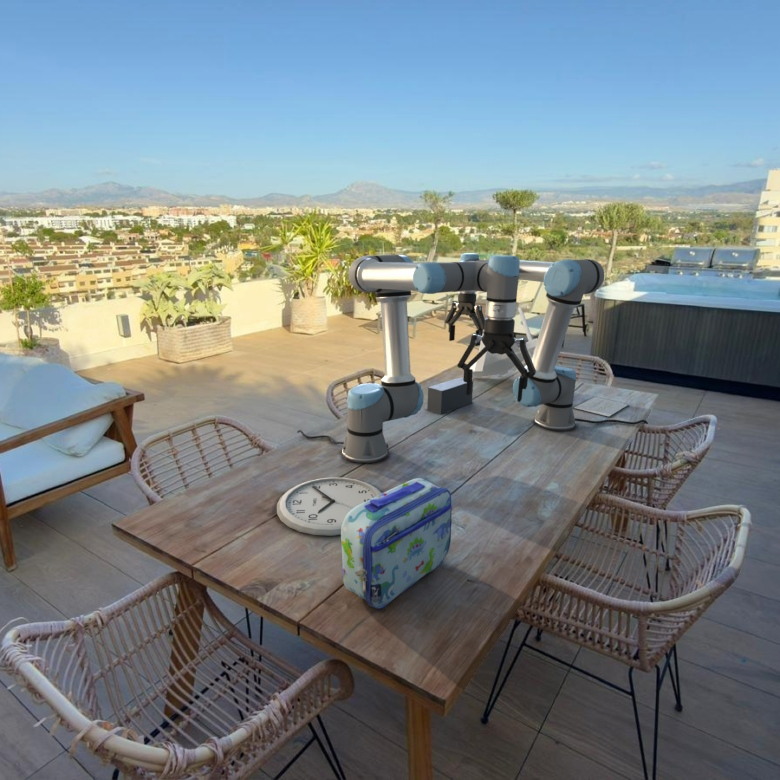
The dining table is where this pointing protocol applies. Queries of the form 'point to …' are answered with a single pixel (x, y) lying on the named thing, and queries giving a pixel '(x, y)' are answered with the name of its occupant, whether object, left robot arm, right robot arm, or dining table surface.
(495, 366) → the white plastic object
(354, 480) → the wall clock
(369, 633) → the dining table surface
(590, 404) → the invitation card
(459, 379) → the box
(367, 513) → the lunch box
